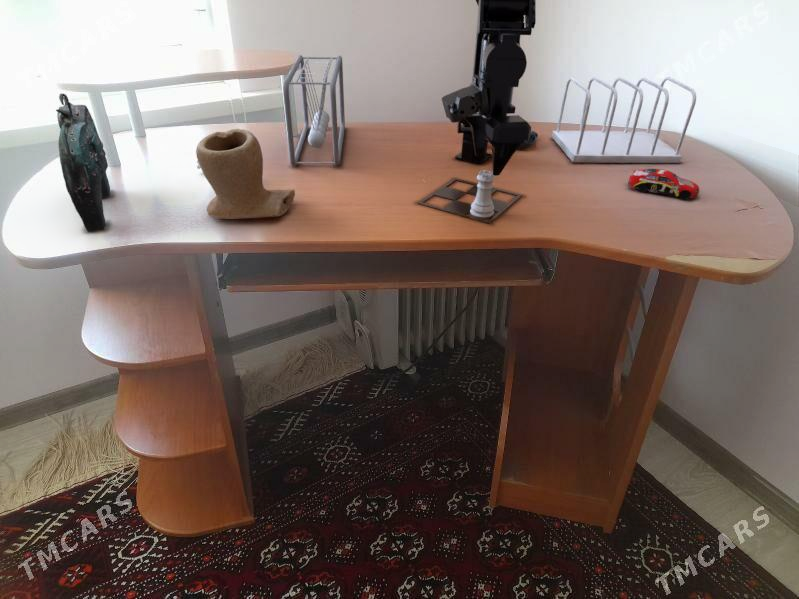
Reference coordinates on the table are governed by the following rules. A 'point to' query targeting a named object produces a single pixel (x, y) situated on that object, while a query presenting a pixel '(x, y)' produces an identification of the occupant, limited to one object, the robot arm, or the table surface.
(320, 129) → the newton's cradle
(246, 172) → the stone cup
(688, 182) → the race car
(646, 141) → the file sorter
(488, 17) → the robot arm
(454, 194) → the chessboard
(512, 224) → the table surface
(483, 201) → the rook chess piece
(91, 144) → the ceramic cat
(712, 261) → the table surface
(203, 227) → the table surface
